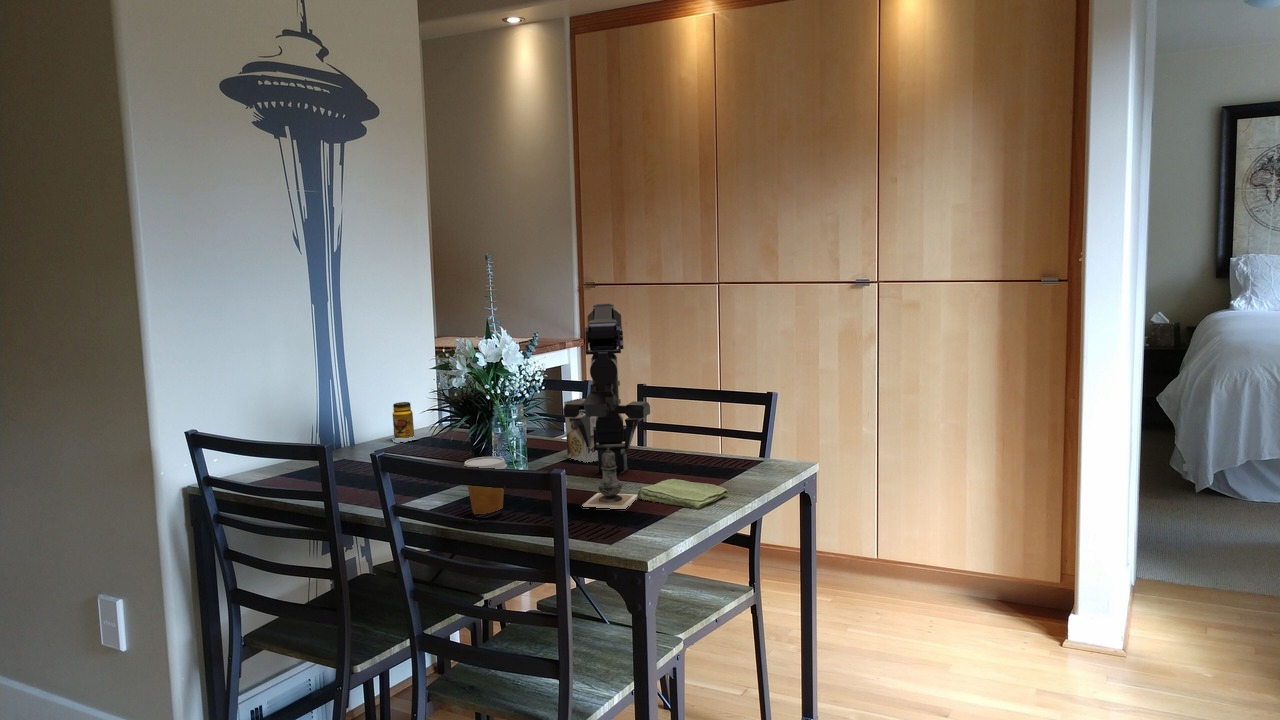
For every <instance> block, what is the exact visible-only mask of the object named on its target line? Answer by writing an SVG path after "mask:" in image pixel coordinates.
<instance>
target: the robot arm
mask: <svg viewBox="0 0 1280 720" xmlns="http://www.w3.org/2000/svg"><path fill="white" fill-rule="evenodd" d="M614 306H615V305H614V304H612V303H596V304H595V305H593V306H592V311H591V312H590V313H589V314H588V315H587V319H586V320H587V321H586V322H587V327H586V326H585V328H584V330H585V331H584V332H585V337H584V338H585V340H584V341H585V356H586V355H587V356H588V355H590V356H591V358H590V360H591V361H590V363H591V364H590V368H589V374H590V378H591V380H592V381H591V382H592V383H591V384H590V387H589V389H590V390H589V393H588V395H586V398H584V399H585V401H572V402H570V403H567V404H565V406H563V408H562V414H563V415H562V416H563V417H564V418H565V417H570V418H569V420H570V421H574V422H575V423H576V424H577V426H578V427H579V429H580V431H581V433H582V436H583V438H584V440H585V443H586V445H587V447H588V448H589V447H590V446H591V429H590V417H591V416H597V418H596V427H593V435H594V450H595V451H597V450H598V461H597V464H598V465H597V466H598V470H597V471H596V473H595V474H597V475H603V469H602V468H601V467H602V466H603V462H602V454H603V453H604V452H605V451H607V448H608V447H609V448H610V449H609V450H610V451H613V452H614V453H615V465H616V466H617V468H616V476H620V475H622V474H623V473H625V472H626V471H627V470H628V458H627V456H628V455H627V453H626V452H625V451H626V450H628V449H629V448H630V447H631V444H632V441H633V438H634V435H635V432H636V429H637V427H638V425H639V423H640V421H642V420H644V419H645V418H646V417H647V416H649V415H651V405H650V403H649V402H648V401H631V402H629V403H627V404H623V405H622V404H621V403H622V402H621V399H620V396H619V395H620V394H619V393H620V390H619V386H621V382H620V380H619V373H618V371H619V370H618V356H617V355H616V354H622V350H624V330H623V328H622V327H623V326H622V325H623V324H622V314H621V313H620V312H618V311H617V310H616V309H615V308H614ZM624 414H625V416H627V418H625V419H624V417H623V416H622V415H624ZM624 422H625V423H624ZM624 424H625V425H624ZM597 443H599V444H597Z"/></svg>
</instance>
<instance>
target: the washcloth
mask: <svg viewBox="0 0 1280 720" xmlns="http://www.w3.org/2000/svg"><path fill="white" fill-rule="evenodd" d="M728 494H729V490H728V489H726V488H725V487H723V486H720V485H716V484H711V483H702V482H691V481H689V480H685V479H683V480H682V479H676V478H671V479H665V480H661V481H659V482H657V483H655V484H650V485H648V486H643V487H641V488H640V489H639V490H638V491H637V494H636V495H638V497H639V498H638V499H640V500H641V499H642V500H641V501H645V500H646V501H645V502H650V501H652V502H651V503H655V502H659V503H658V504H661V503H664V504H663V505H670V506H671V505H672V506H678V507H684V508H685V507H686V508H691V509H695V510H699V509H701V508H702V507H704V506H706V505H708V504H711V503H714V502H715V501H717V500H720V499H721V498H722V497H724V496H727V495H728ZM647 500H648V501H647Z"/></svg>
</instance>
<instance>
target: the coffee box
mask: <svg viewBox="0 0 1280 720" xmlns="http://www.w3.org/2000/svg"><path fill="white" fill-rule="evenodd" d="M585 399H586V398H576V399H571V400H567V401H564V406H565V404H567V403H570V402H572V401H585ZM564 406H563V407H564ZM569 418H570V417H564V420H565V423H564V424H565V434H566V435H565V437H566V450H567V451H566V452H567V453H566V454H567V459H568V458H571V459H574V460H573V461H576V460H578V461H577V462H581V461H583V462H582V463H586V462H587V464H589V463H588V462H590V463H594V462H598V450H597V451H595V450H594V435H593V427H596V418H597V416H591V417H590V429H591V446H590V447H589V448H588V447H587V445H586V443H585V440H584V438H583V436H582V433H581V431H580V429H579V427H578V426H577V424H576V423H575V422H574V421H570V420H569ZM597 444H599V443H597ZM571 459H570V460H571ZM593 461H594V462H593Z"/></svg>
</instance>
